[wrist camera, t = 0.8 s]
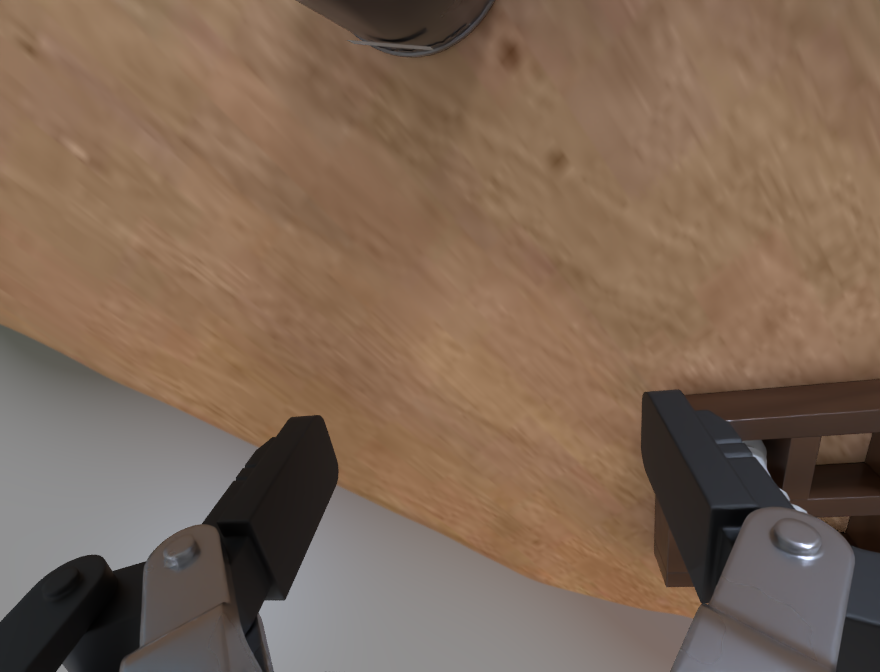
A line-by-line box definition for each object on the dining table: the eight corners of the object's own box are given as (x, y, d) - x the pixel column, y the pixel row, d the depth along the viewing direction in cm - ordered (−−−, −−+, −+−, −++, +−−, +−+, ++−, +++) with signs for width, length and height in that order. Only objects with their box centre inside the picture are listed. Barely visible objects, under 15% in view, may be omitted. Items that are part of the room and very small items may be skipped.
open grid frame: (657, 397, 30) (673, 424, 27) (1051, 364, 26) (1113, 393, 24) (653, 552, 36) (666, 587, 33) (972, 544, 32) (1015, 583, 30)
